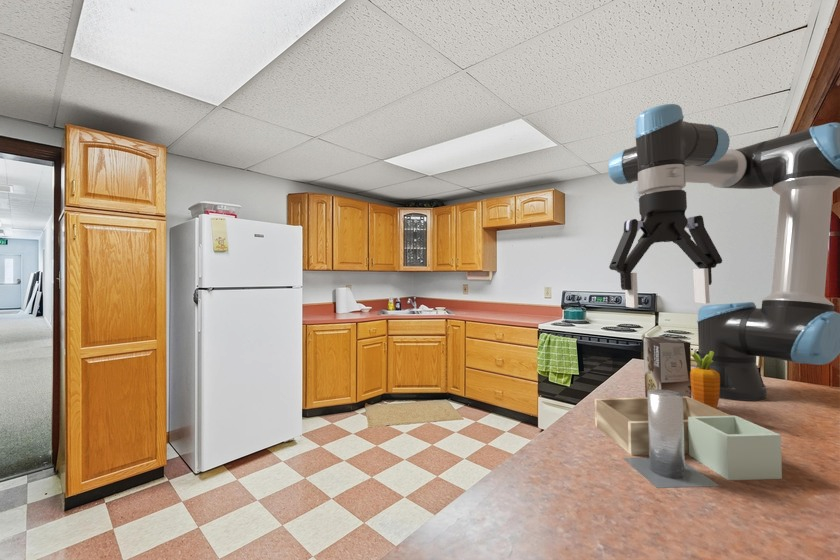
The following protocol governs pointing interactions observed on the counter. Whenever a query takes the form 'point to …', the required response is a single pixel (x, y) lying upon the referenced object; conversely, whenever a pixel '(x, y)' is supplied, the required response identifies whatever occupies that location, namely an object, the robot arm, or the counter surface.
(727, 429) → the square storage bin
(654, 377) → the coffee box
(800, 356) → the robot arm
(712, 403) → the carrot
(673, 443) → the tin can
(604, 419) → the crate
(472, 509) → the counter surface
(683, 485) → the coaster
